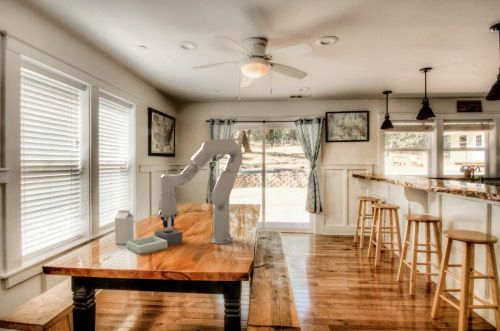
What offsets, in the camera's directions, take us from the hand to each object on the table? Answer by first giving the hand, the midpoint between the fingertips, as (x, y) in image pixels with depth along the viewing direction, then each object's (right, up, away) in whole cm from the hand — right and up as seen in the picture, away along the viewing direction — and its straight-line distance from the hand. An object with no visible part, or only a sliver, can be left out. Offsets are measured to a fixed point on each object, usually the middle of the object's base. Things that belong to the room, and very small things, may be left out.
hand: (168, 226), depth 166 cm
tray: (-9, -9, -11) cm, 17 cm away
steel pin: (0, -8, 0) cm, 8 cm away
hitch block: (0, -9, 0) cm, 9 cm away
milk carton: (-26, -10, 0) cm, 27 cm away
